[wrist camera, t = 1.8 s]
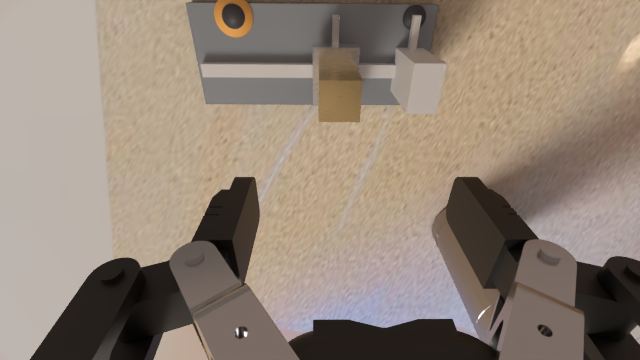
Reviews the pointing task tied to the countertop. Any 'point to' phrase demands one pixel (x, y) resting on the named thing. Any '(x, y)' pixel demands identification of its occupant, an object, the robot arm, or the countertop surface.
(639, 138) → the countertop surface
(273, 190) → the countertop surface
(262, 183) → the countertop surface
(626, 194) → the countertop surface
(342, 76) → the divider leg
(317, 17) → the bolt plate
